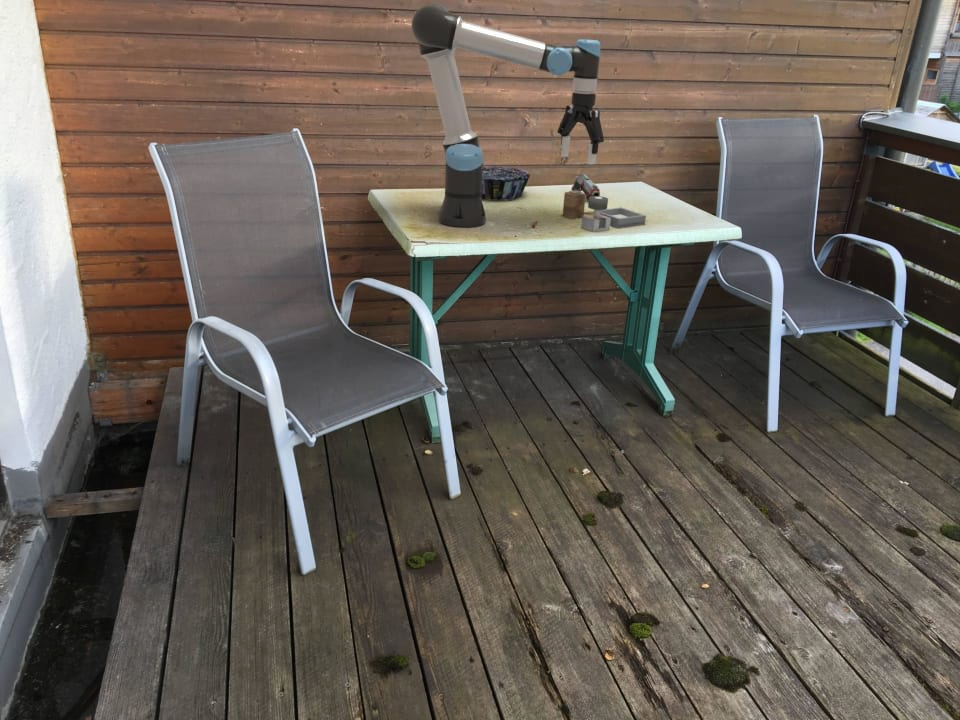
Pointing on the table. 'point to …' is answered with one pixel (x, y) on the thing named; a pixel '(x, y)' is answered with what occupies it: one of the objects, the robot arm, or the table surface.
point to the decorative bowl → (503, 183)
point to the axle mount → (596, 223)
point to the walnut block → (574, 204)
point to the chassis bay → (623, 217)
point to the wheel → (597, 204)
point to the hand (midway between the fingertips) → (577, 160)
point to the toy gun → (586, 186)
